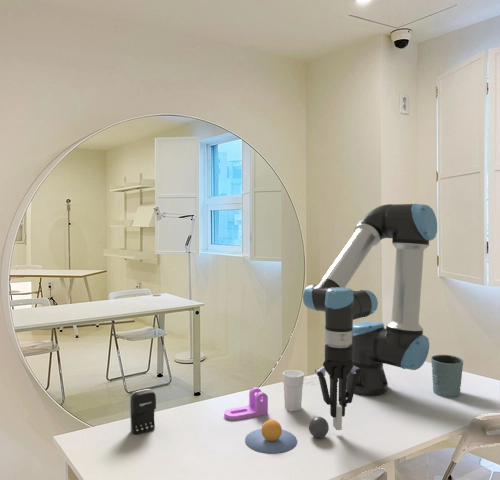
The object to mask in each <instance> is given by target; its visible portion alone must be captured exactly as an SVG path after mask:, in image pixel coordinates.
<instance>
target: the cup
mask: <svg viewBox="0 0 500 480" xmlns="http://www.w3.org/2000/svg"><path fill="white" fill-rule="evenodd" d="M304 378H305V374H304V372H303V371H300V370H295V369H287V370H285V371H283V372H282V381H283V382H282V384H283V395H284V396H283V397H284V409H286V410H287V411H291V412H296V411H300V410H301V409H302V401H303V400H302V399H303V385H304Z"/></svg>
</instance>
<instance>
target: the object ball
mask: <svg viewBox="0 0 500 480" xmlns="http://www.w3.org/2000/svg"><path fill="white" fill-rule="evenodd" d="M260 429H261V430H262V435H263V437H264V438H265V439H266V440H268V441H276V440H277V439H279V437H280V436H281V433H282V430H283V429H282V426H281V424H280V422H278V421H277V420H275V419H267V420H266V421H264V423H263V424H262V426H261V428H260Z"/></svg>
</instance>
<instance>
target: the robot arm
mask: <svg viewBox="0 0 500 480" xmlns="http://www.w3.org/2000/svg"><path fill="white" fill-rule="evenodd" d="M437 232H438V220H437V217H436V213H435V211H434V209H433V208H432V207H431V206H430V205H428V204H422V203H421V204H420V203H419V204H418V203H401V204H400V203H398V204H396V203H395V204H391V203H390V204H389V203H388V204H383V205H380V206H378V207H375V208H374V209H372V210H371V211H369V212H368V213H366V215H364V216H363V217H362V218H361V219H359V221H358V222H357V223H356V226H355V227H354V229H353V234H352V236H351V237H350V239H349V240H348V241H347V243H346V245H345V246H344V247H343V249H342V250H341V251H340V253H339V254H338V256H337V257H336V258H335V260H334V261H333V263H332V264H331V265H330V267H329V268H328V270H327V271H326V272H325V274H324V275H323V277H322V278H321V279H320V281H319V282H318V283H317V285H316V284H311V285H308V286H306V287H305V288H304V291H303V294H302V301H303V304H304V306H305V307H306V308H308V309H310V310H313V311H317V312H324V314H325V315H324V316H325V317H324V319H325V321H324V322H325V325H324V343H325V344H324V362H323V364H322V367H320V368H316V369H314V372H315V374H316V376H317V378H318V381H319V385H320V389H321V394H322V397H323V401H324V402H325V404H326V405H327V406H329V407H330V408H329V409H330V412H329V413H330V414H329V415H330V416H331V417H332V421H333V422H332V426H333V428H334V429H335V430H336V431H342V430H343V417H345V416H346V408H347V406H348V405H347V404H351V403H352V402H353V399H354V396H355V395H354V394H357V395H362V396H363V395H364V396H378V395H383V394H386V393H387V392H388V389H389V385H388V384H389V383H388V380H387V379H388V378H387V376H386V373H385V370H384V364H385V365H390V366H393V367H396V368H400V369H402V370H410V371H416V370H419V369H420V368H421V367H422V366H423V365H424V363H425V362H426V361H427V357H428V354H429V351H430V341H429V337H427V336H426V335H425V334H424V328H423V327H422V325H420V321H419V320H420V310H421V308H420V307H421V296H422V295H421V294H422V279H423V278H422V277H423V266H424V265H423V262H424V251H425V250H426V249H427V248H428V247H429V246H430V241H433V240H434V239H435V238H436V237H437ZM384 239H392V241H391V244H392V245H393V246H394V248H395V249H396V252H395V267H394V278H393V279H394V282H393V296H392V309H391V320H390V321H389V322H388V323H386V328H385V324H384V323H383V321H382V322H381V321H377V320H376V321H372V320H371V321H361V322H360V321H359V322H355V323H354V320H357V319H360V318H361V319H362V318H366V317H368V316H370V315H373V314H374V313H375V312H376V311H377V310H378V304H379V302H378V297H377V296H376V295H375V293H374V292H373V291H371V290H368V289H360V290H353V289H351V288H348V287H347V285H348V284H349V282H350V281H351V279H352V278H353V277H354V275H355V273H356V272H357V270H358V269H360V267H361V265H362V263H363V261H365V259H366V257H367V256H368V254H369V253H370V251H371V249H372V248H373V247H376V246H377V245H378V244H380V241H381V240H384ZM326 373H327V374H328V375H329V388H328V384H327V379H326V377H325V376H326Z"/></svg>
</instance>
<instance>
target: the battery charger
mask: <svg viewBox="0 0 500 480" xmlns="http://www.w3.org/2000/svg"><path fill="white" fill-rule="evenodd" d="M156 409H157V396H156V393H155V392H154V391H153V389H151V388H144V389H139V390H136V391H133V392H131V394H130V396H129V416H130V432H131V433H132V434H134V435H138V434H140V435H141V434H143V433H147V432H150V431H153V430H155V427H156V425H155V423H156V422H155V410H156Z"/></svg>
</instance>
